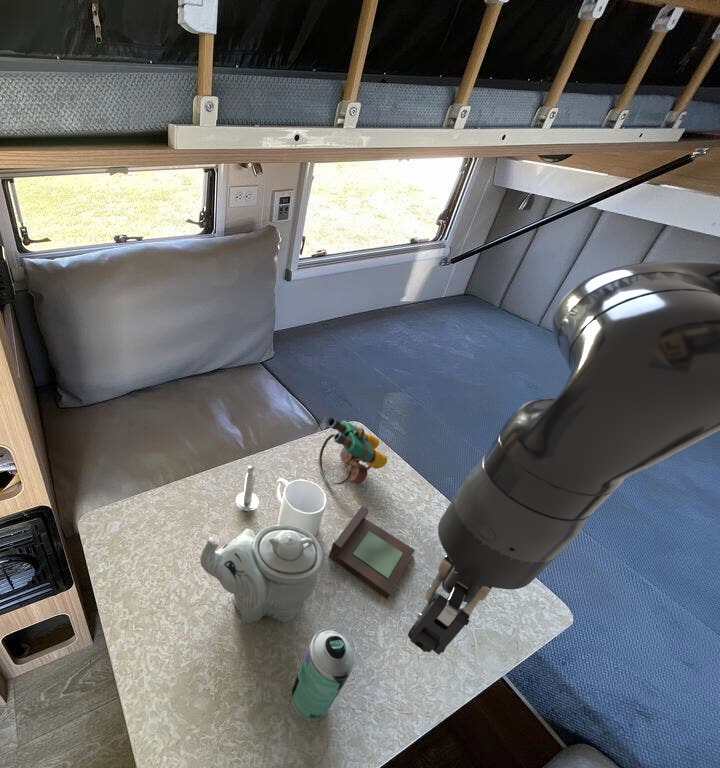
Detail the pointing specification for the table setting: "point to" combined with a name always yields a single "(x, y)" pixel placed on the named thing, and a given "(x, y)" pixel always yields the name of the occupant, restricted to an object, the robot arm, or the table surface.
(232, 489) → the table surface
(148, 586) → the table surface
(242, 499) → the screw
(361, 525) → the brown wooden square frame
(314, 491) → the cup
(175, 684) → the table surface
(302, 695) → the spray can
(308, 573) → the teapot
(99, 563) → the table surface
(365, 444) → the binoculars
